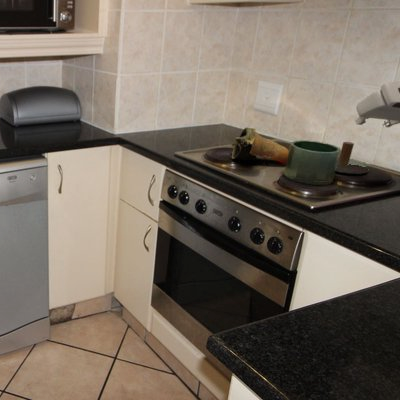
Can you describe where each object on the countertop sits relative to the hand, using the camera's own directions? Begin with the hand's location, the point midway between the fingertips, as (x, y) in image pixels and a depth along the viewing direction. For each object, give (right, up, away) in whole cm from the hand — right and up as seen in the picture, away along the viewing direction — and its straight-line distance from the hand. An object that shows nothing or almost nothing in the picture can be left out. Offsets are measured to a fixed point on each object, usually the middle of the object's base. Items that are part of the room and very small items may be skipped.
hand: (371, 124), depth 138 cm
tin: (-18, -15, +2) cm, 23 cm away
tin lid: (-2, -12, +10) cm, 15 cm away
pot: (-28, -10, +15) cm, 34 cm away
